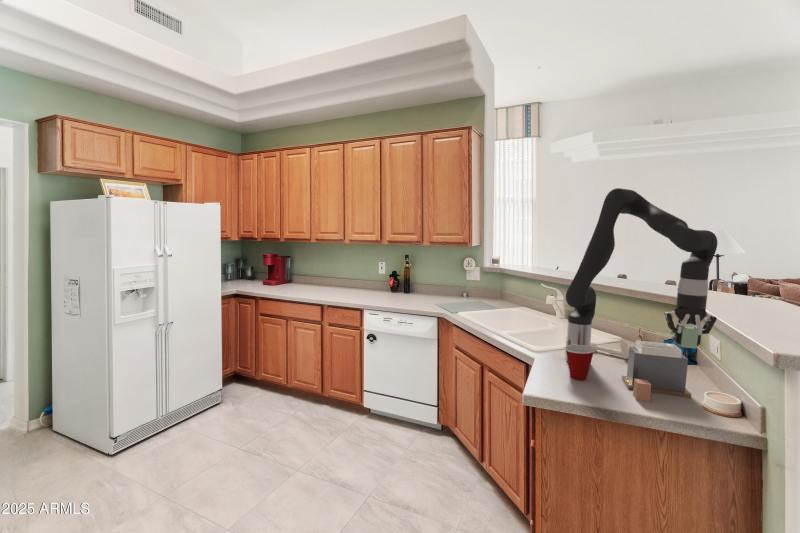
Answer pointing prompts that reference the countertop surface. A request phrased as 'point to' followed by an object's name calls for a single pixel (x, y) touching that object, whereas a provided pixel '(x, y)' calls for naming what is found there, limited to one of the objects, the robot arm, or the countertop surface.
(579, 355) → the plastic cup
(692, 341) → the sage block
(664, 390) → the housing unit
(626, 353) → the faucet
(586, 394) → the countertop surface
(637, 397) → the rust block
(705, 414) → the countertop surface
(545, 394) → the countertop surface
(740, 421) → the countertop surface
